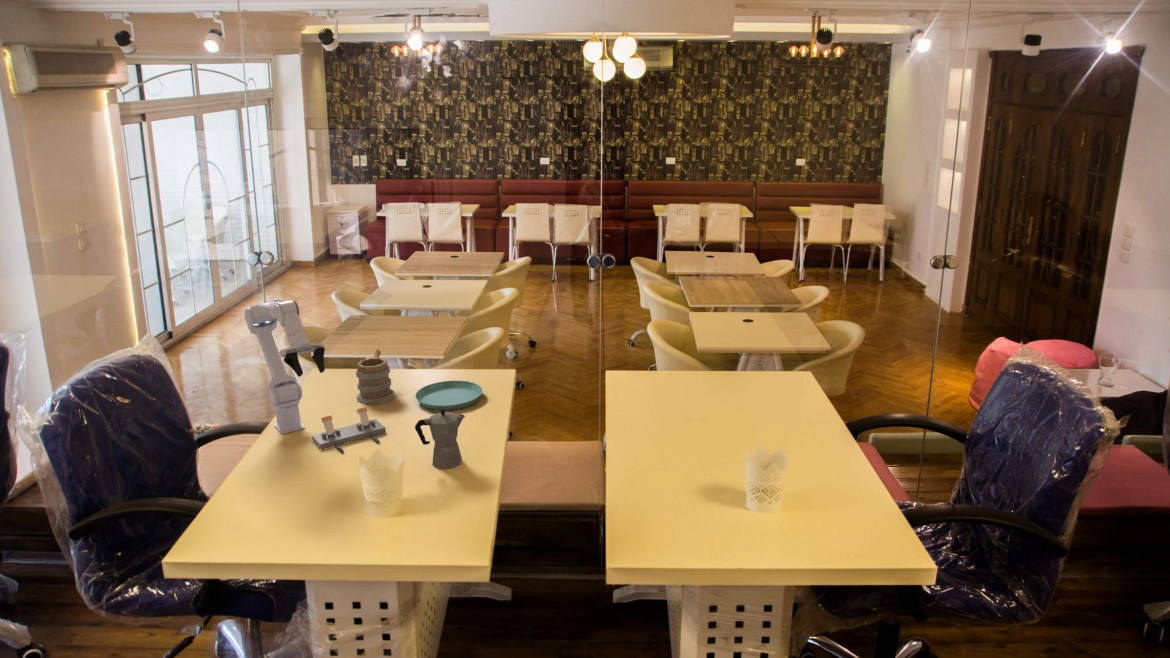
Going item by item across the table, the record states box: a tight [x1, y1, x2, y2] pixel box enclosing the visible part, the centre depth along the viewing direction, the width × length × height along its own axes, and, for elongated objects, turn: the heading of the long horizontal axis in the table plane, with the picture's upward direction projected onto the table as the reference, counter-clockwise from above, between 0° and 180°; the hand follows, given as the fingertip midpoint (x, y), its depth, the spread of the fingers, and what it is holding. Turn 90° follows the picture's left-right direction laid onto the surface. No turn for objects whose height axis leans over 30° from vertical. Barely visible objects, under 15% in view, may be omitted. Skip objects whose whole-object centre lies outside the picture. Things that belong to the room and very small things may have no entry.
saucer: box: [414, 380, 483, 411], centre depth 327 cm, size 24×24×3 cm
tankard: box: [355, 349, 395, 405], centre depth 333 cm, size 20×13×15 cm, turn 179°
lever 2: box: [356, 406, 370, 428], centre depth 301 cm, size 2×3×6 cm, turn 121°
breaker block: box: [311, 419, 387, 454], centre depth 295 cm, size 16×22×4 cm
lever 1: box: [320, 415, 335, 437], centre depth 295 cm, size 2×3×6 cm, turn 121°
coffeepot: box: [414, 409, 466, 470], centre depth 274 cm, size 15×9×18 cm, turn 110°
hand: (311, 373), depth 279 cm, fingers open, 7 cm apart
